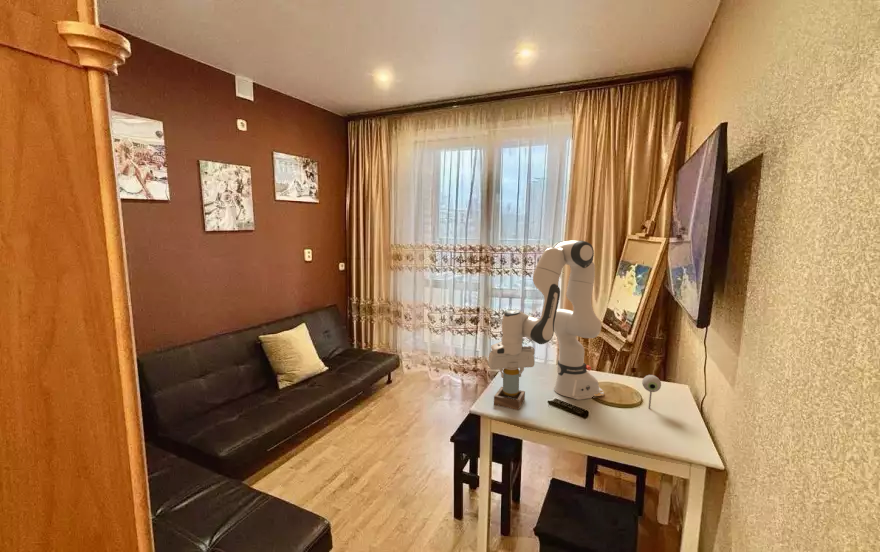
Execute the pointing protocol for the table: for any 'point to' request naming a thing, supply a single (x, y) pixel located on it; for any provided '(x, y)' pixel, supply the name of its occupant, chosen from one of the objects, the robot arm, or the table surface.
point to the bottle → (511, 379)
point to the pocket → (509, 399)
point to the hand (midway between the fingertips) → (511, 376)
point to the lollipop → (651, 385)
